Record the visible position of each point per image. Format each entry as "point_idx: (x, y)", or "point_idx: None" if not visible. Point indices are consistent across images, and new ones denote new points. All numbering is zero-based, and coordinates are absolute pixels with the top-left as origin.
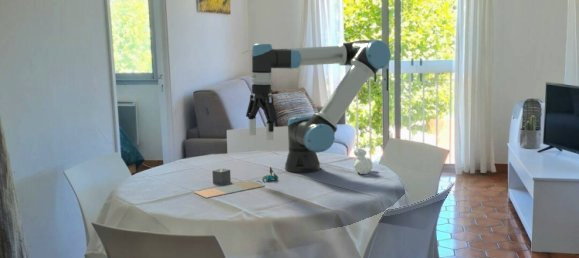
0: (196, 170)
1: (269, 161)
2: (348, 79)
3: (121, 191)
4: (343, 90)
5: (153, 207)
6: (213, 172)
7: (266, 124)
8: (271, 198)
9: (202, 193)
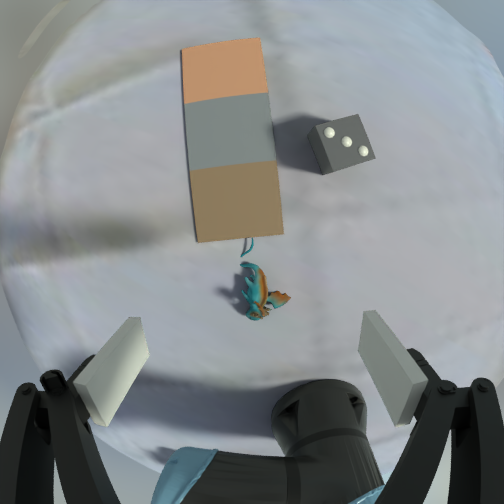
0: (485, 170)
1: (439, 375)
2: None
3: None
4: None
5: None
6: (351, 116)
7: (89, 378)
8: (84, 199)
9: (228, 50)
